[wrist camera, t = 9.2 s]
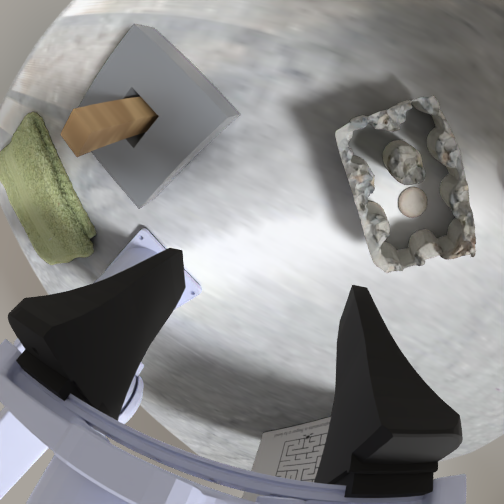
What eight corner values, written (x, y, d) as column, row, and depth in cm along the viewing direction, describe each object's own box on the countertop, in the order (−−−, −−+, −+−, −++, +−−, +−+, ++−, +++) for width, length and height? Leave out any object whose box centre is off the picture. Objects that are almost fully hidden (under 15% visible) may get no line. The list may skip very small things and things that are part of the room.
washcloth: (57, 263, 33) (42, 275, 31) (6, 153, 26) (-11, 161, 23) (108, 244, 28) (90, 260, 26) (46, 101, 21) (23, 107, 18)
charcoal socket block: (156, 197, 23) (139, 209, 21) (89, 118, 20) (69, 123, 18) (240, 114, 18) (228, 117, 16) (154, 27, 15) (134, 23, 13)
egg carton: (459, 233, 18) (479, 262, 14) (372, 256, 21) (377, 289, 17) (431, 92, 13) (455, 93, 10) (327, 119, 17) (326, 125, 13)
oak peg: (152, 130, 20) (76, 157, 13) (137, 113, 19) (60, 134, 13) (167, 112, 19) (91, 132, 12) (152, 94, 18) (73, 108, 12)
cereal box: (292, 447, 42) (256, 566, 22) (262, 431, 41) (216, 560, 20) (404, 418, 31) (385, 582, 10) (379, 398, 29) (350, 591, 9)
